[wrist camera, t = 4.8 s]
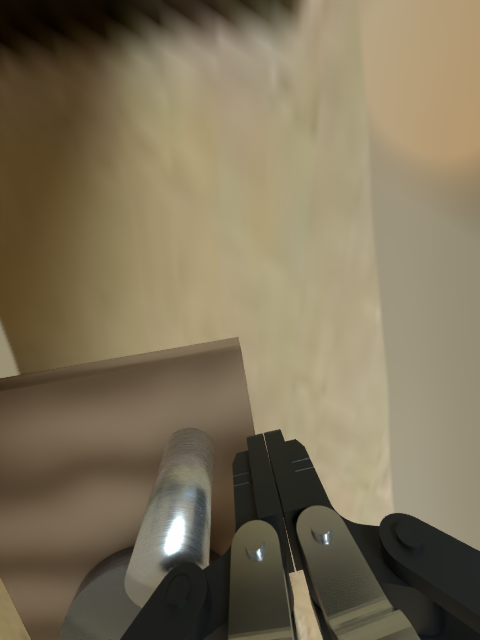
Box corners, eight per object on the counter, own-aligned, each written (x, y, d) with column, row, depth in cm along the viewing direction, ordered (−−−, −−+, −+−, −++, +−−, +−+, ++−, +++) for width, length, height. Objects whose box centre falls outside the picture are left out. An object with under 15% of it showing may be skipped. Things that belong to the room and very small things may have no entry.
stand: (-38, 384, 16) (-107, 416, 13) (238, 337, 17) (242, 355, 13) (75, 644, 22) (48, 716, 18) (281, 600, 22) (292, 661, 19)
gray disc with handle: (230, 669, 20) (236, 923, 12) (68, 666, 18) (-40, 950, 11) (295, 416, 15) (368, 563, 8) (90, 389, 14) (-64, 534, 6)
